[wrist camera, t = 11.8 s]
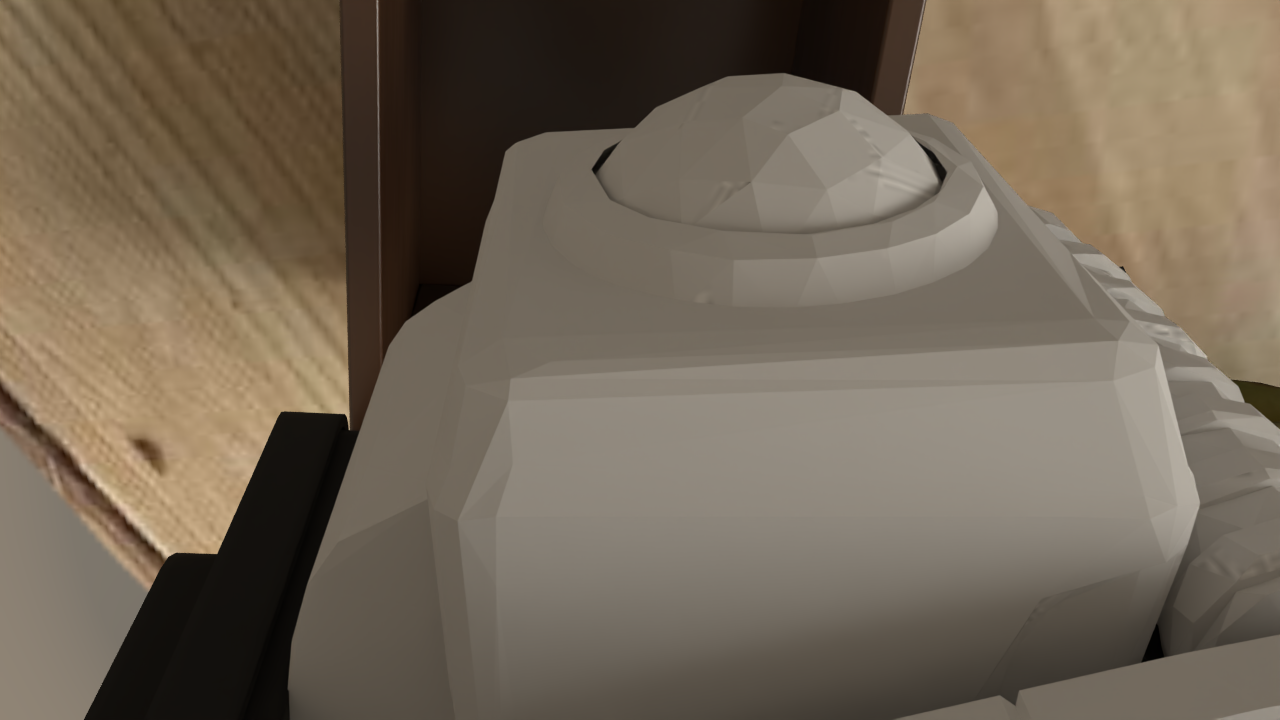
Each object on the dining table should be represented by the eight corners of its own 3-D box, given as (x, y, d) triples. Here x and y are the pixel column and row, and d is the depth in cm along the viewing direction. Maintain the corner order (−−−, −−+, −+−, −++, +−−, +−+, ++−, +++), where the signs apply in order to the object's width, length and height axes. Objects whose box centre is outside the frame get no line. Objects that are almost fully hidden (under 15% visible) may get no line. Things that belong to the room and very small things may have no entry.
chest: (395, -218, 25) (333, -222, 18) (851, -169, 26) (960, -154, 19) (396, 294, 30) (349, 442, 23) (771, 317, 31) (832, 464, 24)
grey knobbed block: (1145, -36, 9) (996, 796, 14) (326, 1, 9) (467, 824, 14) (1882, 270, 4) (1231, 1418, 9) (-39, 362, 4) (391, 1469, 9)
